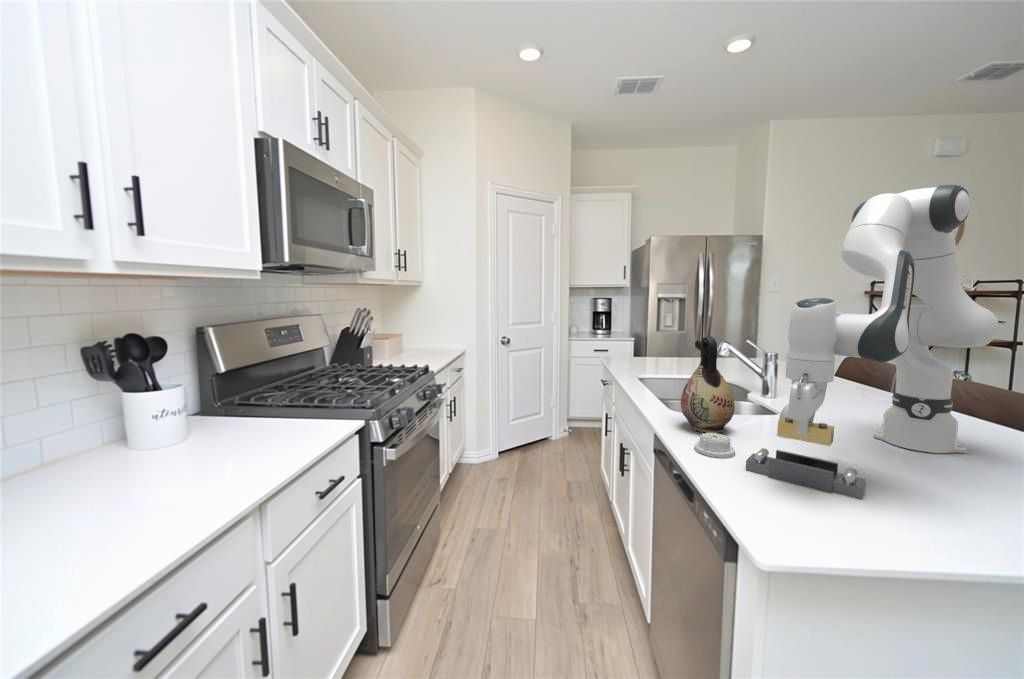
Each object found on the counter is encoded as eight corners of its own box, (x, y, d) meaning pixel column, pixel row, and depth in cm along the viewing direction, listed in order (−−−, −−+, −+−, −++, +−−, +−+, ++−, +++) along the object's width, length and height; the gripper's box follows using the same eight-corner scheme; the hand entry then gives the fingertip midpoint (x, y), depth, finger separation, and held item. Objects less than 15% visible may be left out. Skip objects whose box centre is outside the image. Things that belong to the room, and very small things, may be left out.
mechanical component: (699, 457, 112) (740, 460, 110) (699, 441, 112) (741, 444, 110) (690, 444, 122) (728, 446, 120) (691, 429, 121) (729, 431, 119)
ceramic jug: (674, 421, 143) (677, 332, 140) (723, 422, 141) (727, 332, 137) (688, 438, 126) (691, 337, 123) (743, 440, 124) (749, 338, 121)
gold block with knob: (781, 431, 102) (782, 415, 101) (833, 441, 95) (834, 423, 95) (777, 435, 99) (778, 418, 99) (830, 446, 92) (831, 427, 92)
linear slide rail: (753, 461, 108) (754, 444, 108) (865, 488, 93) (866, 469, 93) (744, 471, 103) (745, 453, 103) (861, 501, 88) (863, 480, 87)
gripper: (818, 380, 86) (813, 446, 87) (833, 367, 100) (828, 424, 102) (782, 376, 90) (777, 439, 92) (801, 364, 105) (797, 419, 106)
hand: (804, 431), depth 97 cm, fingers closed on gold block with knob, 4 cm apart
